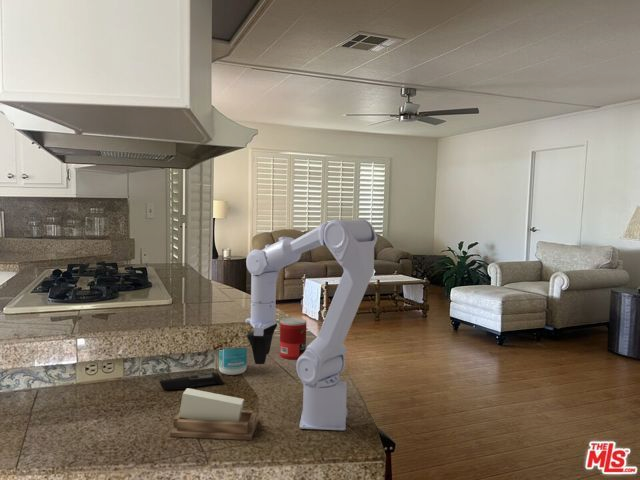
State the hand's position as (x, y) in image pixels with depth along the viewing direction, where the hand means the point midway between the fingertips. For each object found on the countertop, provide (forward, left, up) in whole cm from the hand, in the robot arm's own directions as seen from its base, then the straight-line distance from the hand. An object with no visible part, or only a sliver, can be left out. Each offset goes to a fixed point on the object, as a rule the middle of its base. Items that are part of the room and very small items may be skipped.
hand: (262, 358), depth 118 cm
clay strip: (+8, +16, -8) cm, 20 cm away
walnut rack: (+7, +16, -10) cm, 20 cm away
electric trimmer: (+18, -7, -10) cm, 22 cm away
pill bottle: (+11, -19, -10) cm, 24 cm away
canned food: (-4, -35, -10) cm, 37 cm away
